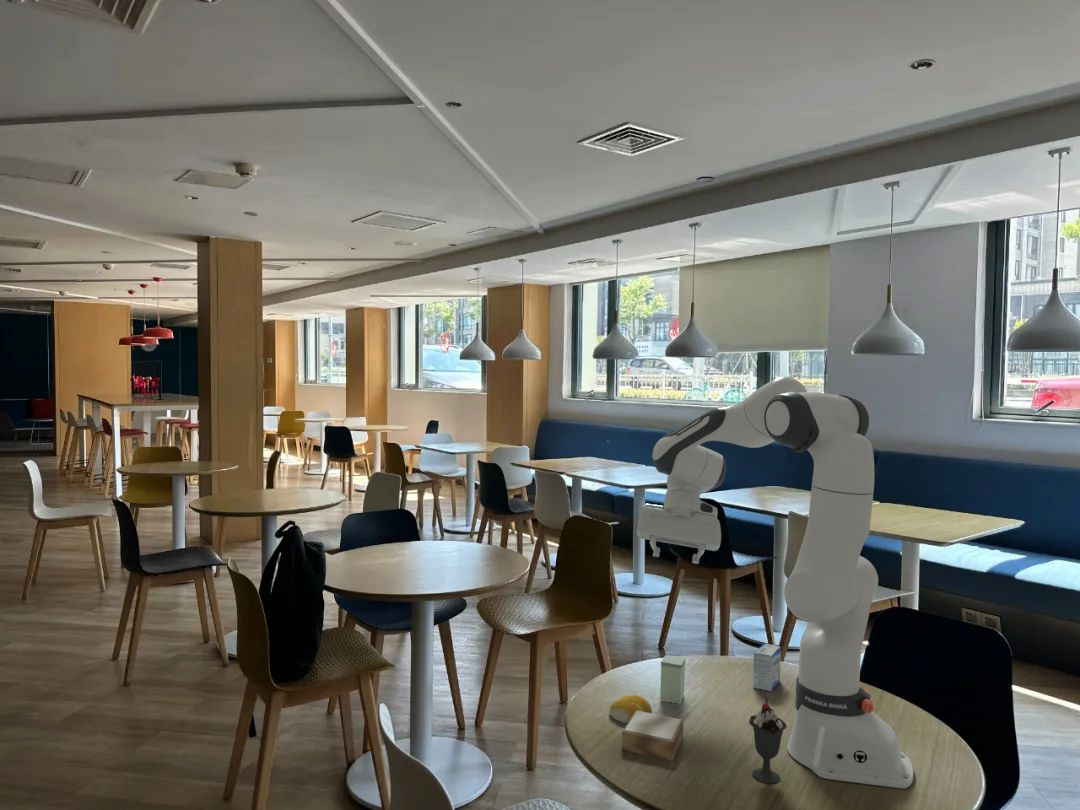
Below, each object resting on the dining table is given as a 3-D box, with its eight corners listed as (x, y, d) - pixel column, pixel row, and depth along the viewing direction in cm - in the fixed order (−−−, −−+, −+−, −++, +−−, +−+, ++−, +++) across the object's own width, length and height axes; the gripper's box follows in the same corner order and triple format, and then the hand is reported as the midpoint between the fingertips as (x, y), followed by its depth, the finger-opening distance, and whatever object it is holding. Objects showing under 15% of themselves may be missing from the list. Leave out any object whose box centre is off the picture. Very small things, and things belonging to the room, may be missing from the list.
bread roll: (658, 715, 159) (658, 697, 159) (633, 729, 153) (634, 710, 153) (627, 703, 165) (628, 685, 165) (602, 715, 158) (603, 697, 158)
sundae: (758, 762, 140) (761, 685, 139) (791, 777, 135) (794, 697, 135) (740, 775, 136) (742, 695, 135) (772, 790, 131) (776, 708, 130)
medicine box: (771, 692, 172) (772, 656, 172) (752, 687, 174) (753, 652, 174) (780, 681, 179) (781, 646, 178) (761, 677, 181) (763, 642, 181)
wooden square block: (682, 739, 149) (683, 719, 149) (672, 762, 140) (672, 741, 140) (635, 729, 153) (635, 709, 153) (621, 751, 144) (622, 730, 144)
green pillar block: (684, 696, 168) (685, 658, 168) (680, 704, 164) (681, 665, 164) (664, 693, 170) (665, 654, 170) (659, 700, 166) (661, 661, 166)
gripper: (640, 496, 183) (633, 545, 174) (724, 509, 179) (720, 560, 171) (639, 508, 188) (631, 557, 179) (720, 522, 184) (716, 572, 176)
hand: (675, 559), depth 175 cm, fingers open, 8 cm apart
